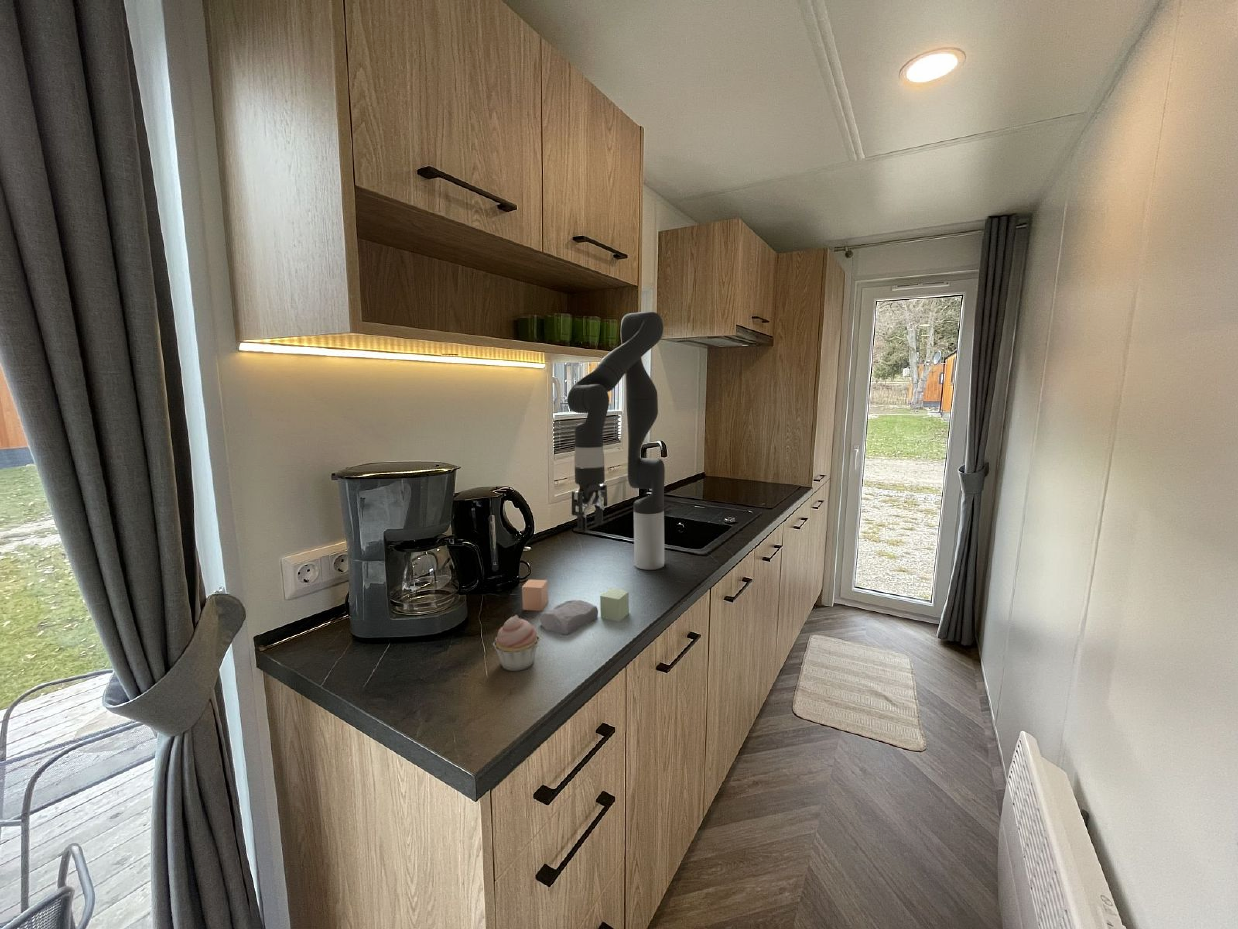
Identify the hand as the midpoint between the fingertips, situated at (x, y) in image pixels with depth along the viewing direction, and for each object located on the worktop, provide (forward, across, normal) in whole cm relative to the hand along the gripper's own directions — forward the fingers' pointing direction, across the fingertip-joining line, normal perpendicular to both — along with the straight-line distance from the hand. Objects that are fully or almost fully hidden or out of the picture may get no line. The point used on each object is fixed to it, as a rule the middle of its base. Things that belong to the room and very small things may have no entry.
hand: (590, 527), depth 127 cm
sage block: (+19, +6, +9) cm, 22 cm away
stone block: (+20, +13, +1) cm, 24 cm away
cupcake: (+20, +33, +1) cm, 38 cm away
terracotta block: (+19, +9, -11) cm, 24 cm away
